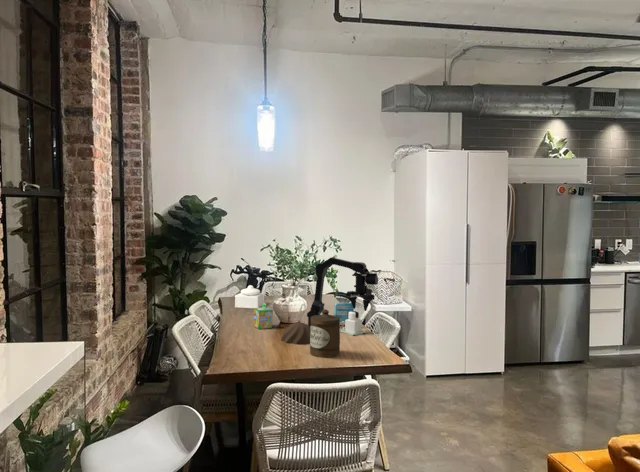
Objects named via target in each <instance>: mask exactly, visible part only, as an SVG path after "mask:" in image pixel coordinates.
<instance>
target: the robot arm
mask: <svg viewBox="0 0 640 472" xmlns="http://www.w3.org/2000/svg"><path fill="white" fill-rule="evenodd" d="M333 265H335V266H339V267H343V268H347V269H349V270H352V271H353V272H354V273H352V277H355V285H353V288H355V291H354V290H350V291H349V290H348V291H346V293H345V294H346V297H347V298H348V300H349V301H350V302H349V303H351V304H352V306H353V308H354V310H356V306H357V298H363V299H362V305H363V310H364V311H365V312H366V311H367V310H368V307H369V304H370V303H371V302H372V301H373V300H375V295H374V294H373V289H370V288H368V286H367V285H374V286H375V285H376V286H377V285H378V283H379V277H378V273H377V272H373V273H372V272H370V271H369V269H368V268H367V265H366V263H365V262H363V261H362V262H360V261H358V262H357V261H349V260H344V259H341V258H338V257H334V256H333V257H329V258H328V259H326V260H324V261H322V262H320V263H318V264H316V265H315V268H314V269H315V276H316V280H315V281H316V284H315V290H314V291H315V292H314V299H313V302H312V304H311V307H310V310H309V311H308V312H307V313H306V317H307V325H309V326H310V327H311V317H312V316H315V315H322V314H323V313H322V311H323V310H325V302H324V303H323V301H322V300H323V293H324V282H325V278H326V275H327V273H328V270H329V269H330V268H331V267H332V266H333ZM366 284H367V285H366Z"/></svg>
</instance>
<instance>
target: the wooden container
mask: <svg viewBox="0 0 640 472" xmlns="http://www.w3.org/2000/svg"><path fill="white" fill-rule="evenodd" d="M340 328H341V326H340V318H339V317H338V316H334V315H331V314H329V310H328V309H324V310H323V311H322V313H321V314H320V315H315V316H312V317H311V333H310V343H309V353H310V355H312V356H313V357H318V358H334V357H337V356H339V355H340V351H341V350H340V349H341V348H340V347H341V332H340V330H341V329H340Z"/></svg>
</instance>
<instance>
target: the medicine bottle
mask: <svg viewBox="0 0 640 472" xmlns="http://www.w3.org/2000/svg"><path fill="white" fill-rule="evenodd" d="M359 313H360V312H358V311H356V310H355V311H350V312H349V316H348V318H349V319H347V320H345V325H344V327H345V331H346V332H350V333H358V332H361V330H362V321H363V320H362V319H360V317H359V315H360V314H359Z"/></svg>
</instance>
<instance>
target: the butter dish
mask: <svg viewBox="0 0 640 472" xmlns="http://www.w3.org/2000/svg"><path fill="white" fill-rule="evenodd" d="M263 303H265V294H264V293H262V292H261V290H260V289H258V288H255V287H254V286H253V285H251V284H249V285H248V286H247V288H242V289H241V290H240V293H237V294H235V295H234V308H240V309H241V308H242V309H244V308H245V309H254V308H262V306H263Z"/></svg>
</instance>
